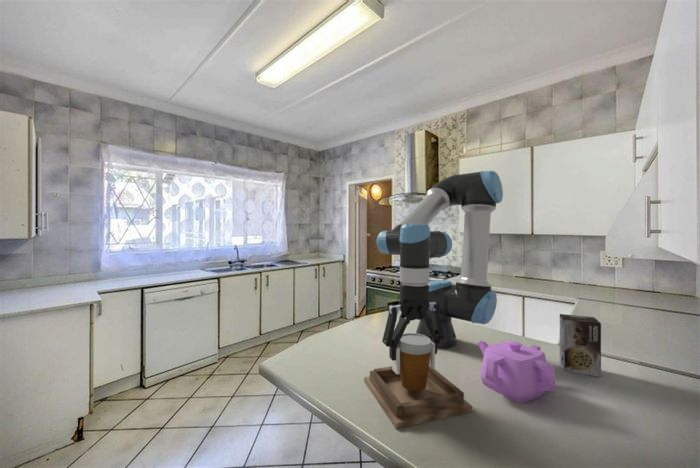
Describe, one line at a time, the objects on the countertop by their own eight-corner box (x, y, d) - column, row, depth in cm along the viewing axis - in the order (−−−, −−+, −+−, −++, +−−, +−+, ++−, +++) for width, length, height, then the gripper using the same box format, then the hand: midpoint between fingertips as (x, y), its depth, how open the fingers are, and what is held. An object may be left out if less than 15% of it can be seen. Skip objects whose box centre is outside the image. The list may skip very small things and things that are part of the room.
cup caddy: (425, 371, 87) (425, 359, 87) (472, 411, 68) (472, 396, 68) (364, 381, 81) (364, 368, 81) (396, 428, 62) (396, 412, 62)
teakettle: (486, 399, 73) (486, 351, 73) (476, 368, 89) (477, 329, 89) (563, 411, 68) (564, 360, 68) (538, 376, 84) (539, 334, 84)
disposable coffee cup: (434, 397, 69) (434, 348, 68) (394, 392, 70) (394, 344, 70) (431, 377, 78) (431, 333, 78) (395, 373, 80) (396, 331, 80)
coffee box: (593, 368, 89) (594, 316, 89) (601, 377, 83) (602, 323, 83) (558, 362, 93) (559, 313, 93) (563, 371, 87) (564, 318, 87)
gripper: (442, 278, 81) (441, 357, 81) (369, 282, 74) (368, 368, 74) (459, 283, 73) (458, 369, 74) (380, 288, 67) (380, 383, 67)
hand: (413, 368), depth 74 cm, fingers closed on disposable coffee cup, 9 cm apart
